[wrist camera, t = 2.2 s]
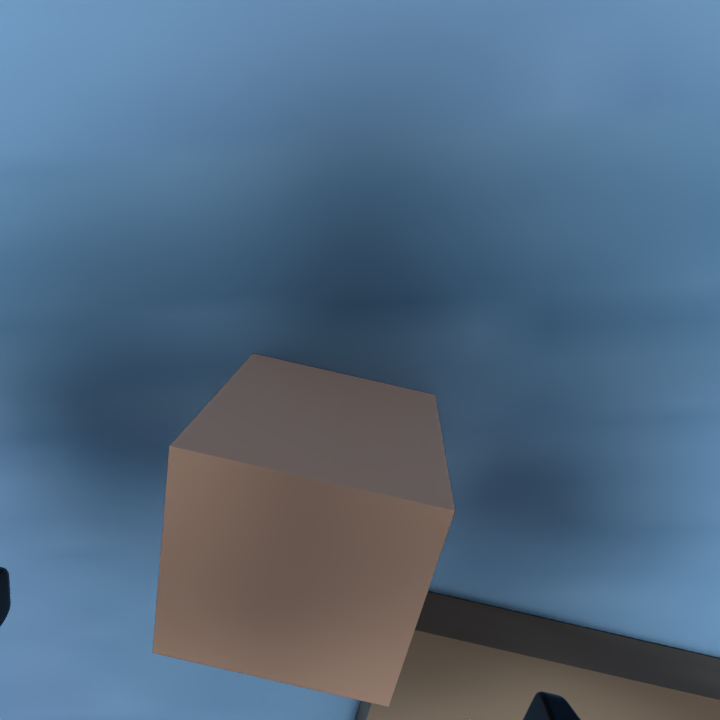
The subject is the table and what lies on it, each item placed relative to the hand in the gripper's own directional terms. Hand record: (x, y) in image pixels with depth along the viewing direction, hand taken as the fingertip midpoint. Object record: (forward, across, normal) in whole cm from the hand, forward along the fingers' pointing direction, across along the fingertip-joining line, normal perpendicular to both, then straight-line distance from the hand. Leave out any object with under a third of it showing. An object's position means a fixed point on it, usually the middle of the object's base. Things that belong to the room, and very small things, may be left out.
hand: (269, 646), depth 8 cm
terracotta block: (+6, 0, 0) cm, 6 cm away
